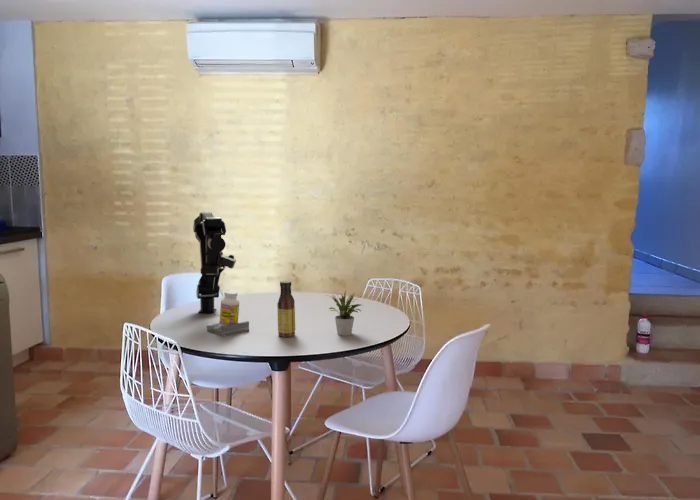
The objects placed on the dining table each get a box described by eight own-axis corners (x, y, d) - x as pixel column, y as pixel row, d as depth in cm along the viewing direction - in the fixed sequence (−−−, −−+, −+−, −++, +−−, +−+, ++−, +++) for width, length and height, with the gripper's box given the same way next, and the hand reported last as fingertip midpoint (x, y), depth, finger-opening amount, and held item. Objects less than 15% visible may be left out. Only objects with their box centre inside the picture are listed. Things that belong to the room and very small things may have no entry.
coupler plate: (207, 330, 201) (206, 320, 200) (232, 325, 208) (232, 316, 208) (223, 336, 193) (223, 326, 193) (249, 330, 201) (249, 321, 200)
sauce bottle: (286, 332, 200) (287, 279, 198) (298, 335, 196) (299, 281, 194) (273, 335, 195) (273, 281, 193) (285, 338, 191) (286, 283, 189)
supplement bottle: (217, 327, 198) (219, 293, 195) (221, 321, 204) (224, 288, 202) (235, 329, 198) (237, 295, 195) (239, 323, 204) (241, 290, 202)
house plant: (327, 340, 190) (327, 294, 188) (318, 330, 203) (318, 287, 201) (365, 338, 194) (366, 293, 192) (354, 328, 207) (355, 286, 205)
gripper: (230, 252, 203) (230, 293, 204) (238, 246, 221) (238, 284, 223) (199, 251, 202) (200, 293, 204) (210, 246, 221) (210, 284, 222)
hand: (213, 288), depth 213 cm, fingers open, 9 cm apart
